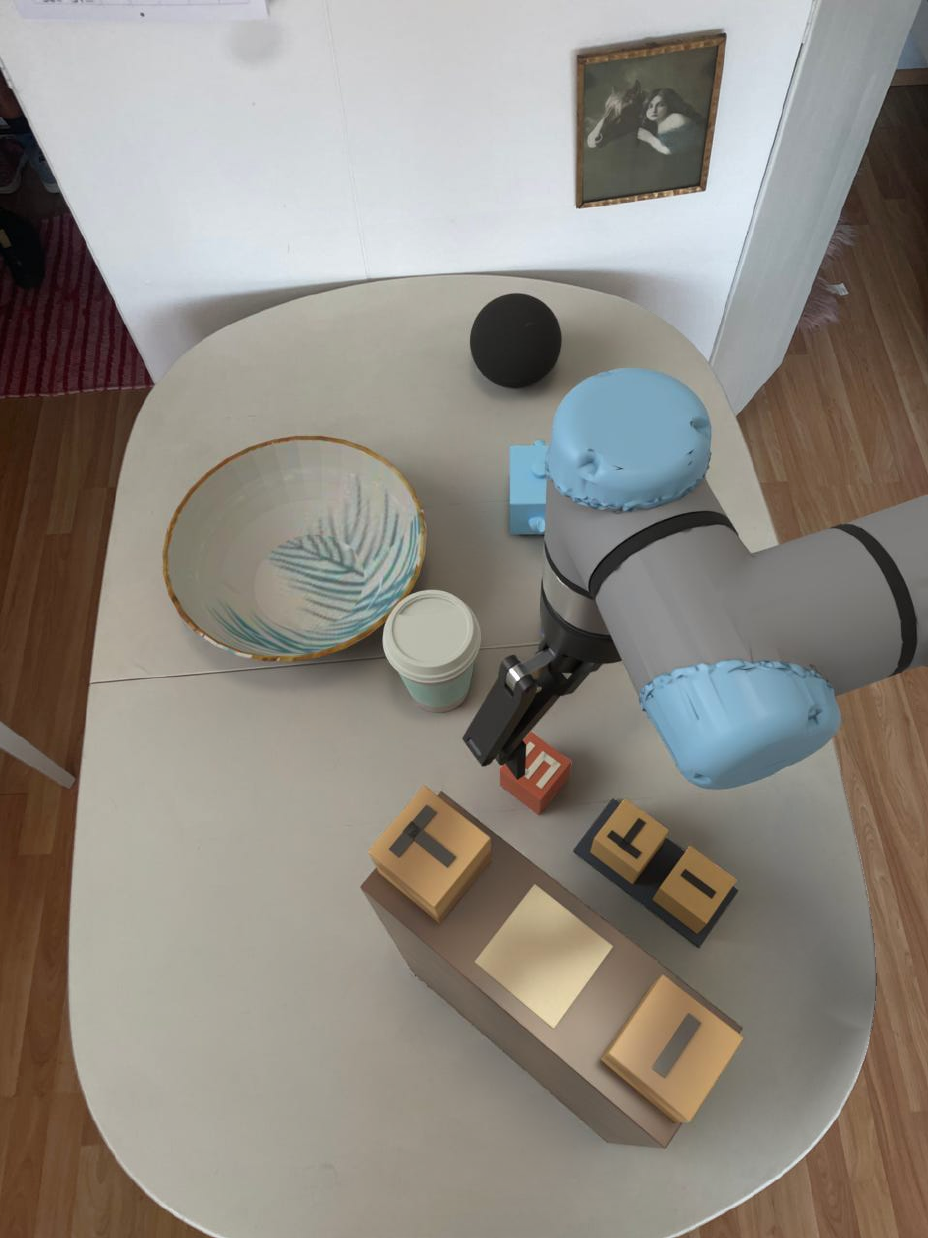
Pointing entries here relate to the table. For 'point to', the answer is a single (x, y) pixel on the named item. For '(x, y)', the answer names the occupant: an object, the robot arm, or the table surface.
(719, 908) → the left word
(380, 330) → the table surface
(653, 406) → the robot arm
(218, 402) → the table surface
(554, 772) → the block
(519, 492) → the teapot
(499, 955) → the word stand
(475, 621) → the coffee cup
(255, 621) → the bowl
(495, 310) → the black ball
